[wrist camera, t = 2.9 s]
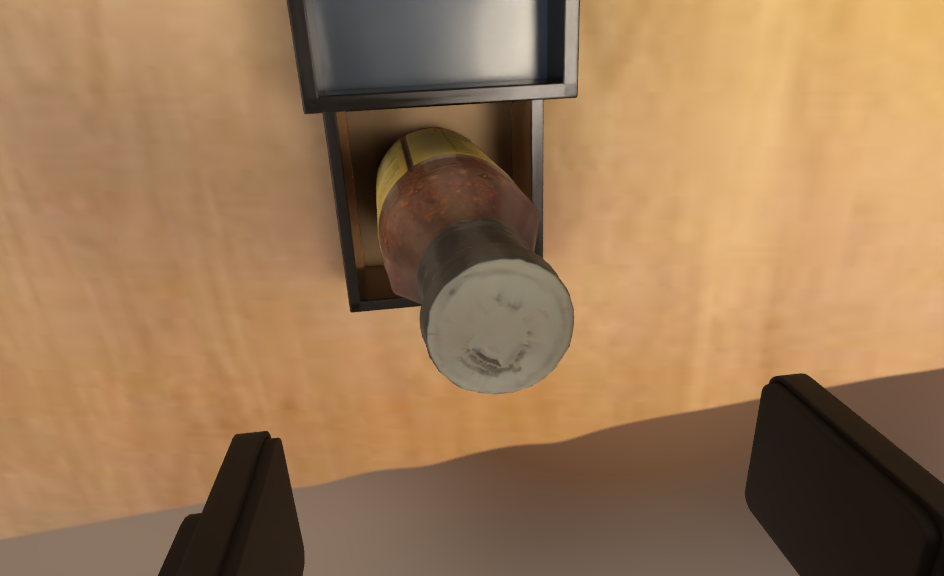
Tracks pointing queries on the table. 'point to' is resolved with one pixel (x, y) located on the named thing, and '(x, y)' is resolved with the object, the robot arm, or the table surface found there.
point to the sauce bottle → (470, 263)
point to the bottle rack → (430, 86)
